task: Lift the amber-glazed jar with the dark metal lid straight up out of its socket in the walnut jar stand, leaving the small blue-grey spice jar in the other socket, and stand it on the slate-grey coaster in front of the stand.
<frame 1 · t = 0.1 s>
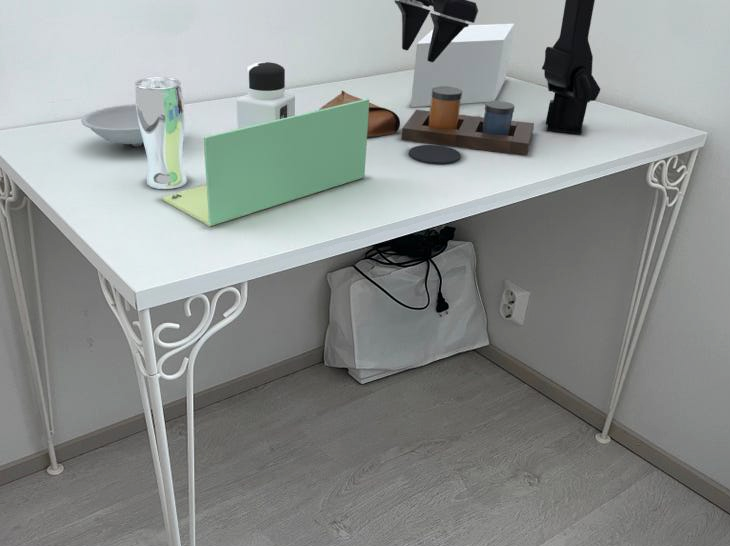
hand: (417, 55, 125), 15 cm above the table, tool pointing down, fingers open, 9 cm apart
spice jar: (494, 140, 138), resting in jar stand
block: (460, 93, 165), on the table
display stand: (267, 189, 115), on the table
coaster: (434, 155, 130), on the table
jar stand: (467, 137, 139), on the table
container: (266, 141, 134), on the table
beer glass: (167, 183, 116), on the table
sunglasses case: (354, 124, 144), on the table
amber jar: (441, 134, 140), resting in jar stand
dish: (137, 146, 130), on the table
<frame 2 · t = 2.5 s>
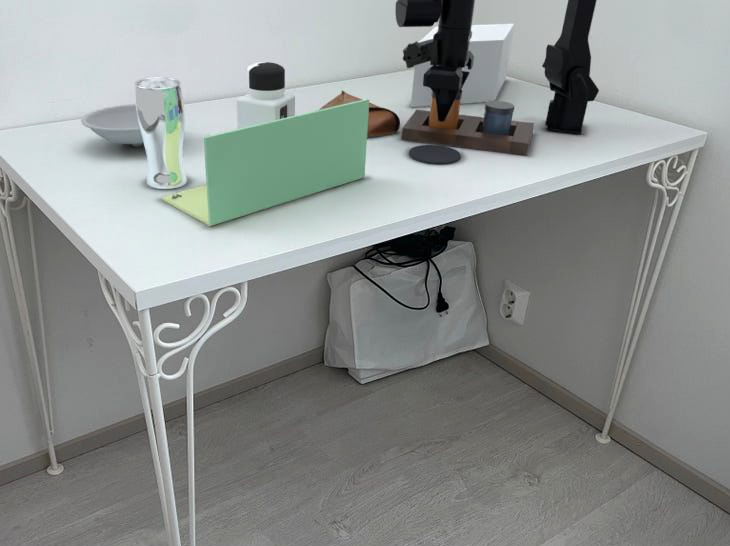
hand: (444, 116, 138), 3 cm above the table, tool pointing down, fingers closed on amber jar, 5 cm apart
amber jar: (441, 134, 140), resting in jar stand, touching gripper
everything else where it was.
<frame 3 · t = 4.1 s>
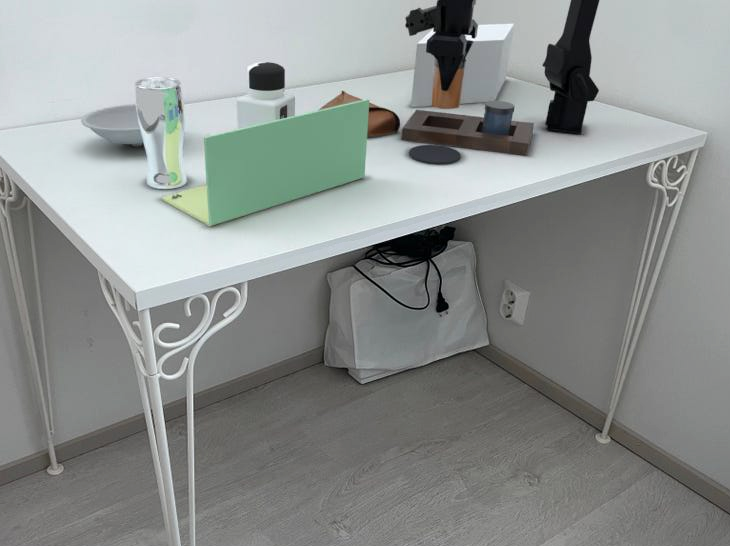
hand: (447, 86, 135), 9 cm above the table, tool pointing down, fingers closed on amber jar, 5 cm apart
amber jar: (444, 104, 137), point 5 cm above the table, touching gripper
everything else where it was.
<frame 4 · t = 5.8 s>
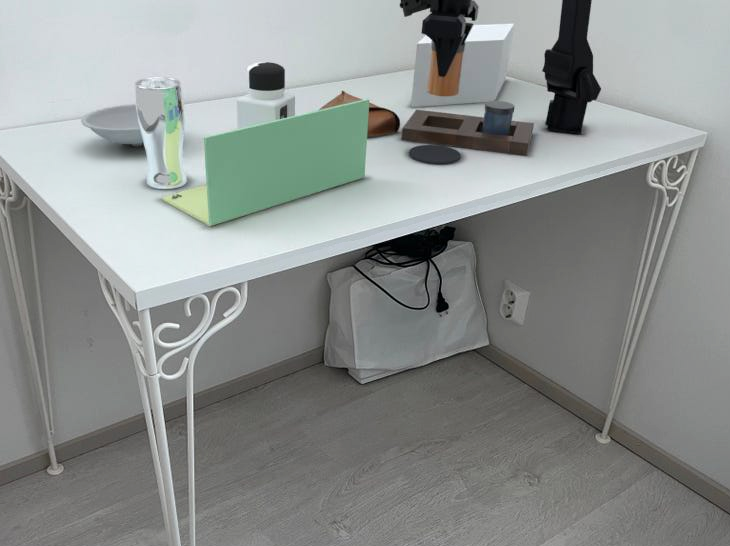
hand: (444, 72, 125), 13 cm above the table, tool pointing down, fingers closed on amber jar, 5 cm apart
amber jar: (442, 92, 127), point 10 cm above the table, touching gripper
everything else where it was.
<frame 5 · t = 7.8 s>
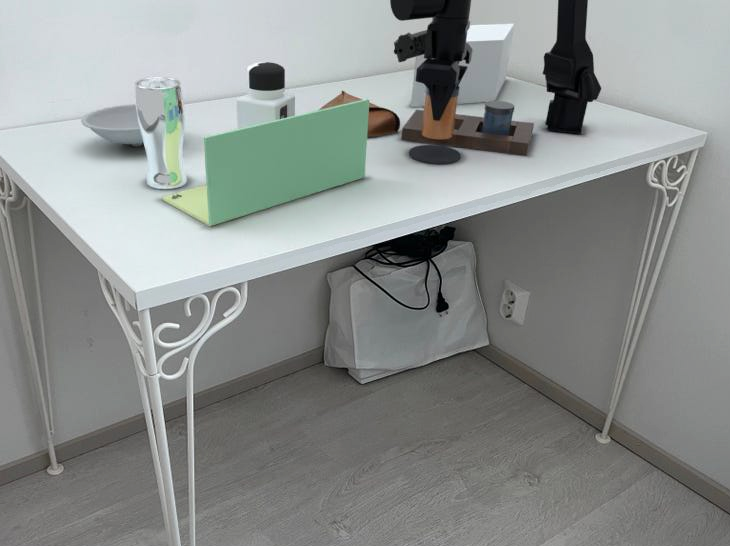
hand: (439, 115, 126), 7 cm above the table, tool pointing down, fingers closed on amber jar, 5 cm apart
amber jar: (437, 134, 128), point 4 cm above the table, touching gripper
everything else where it was.
when the fingers open (4 cm above the table, at t = 9.2 s): amber jar stays where it is, resting on coaster.
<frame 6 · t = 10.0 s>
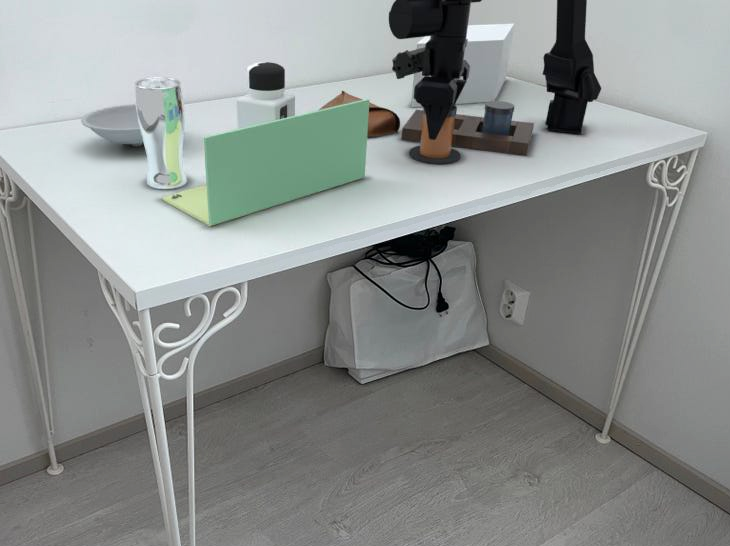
hand: (437, 131, 128), 4 cm above the table, tool pointing down, fingers open, 9 cm apart
amber jar: (434, 153, 130), resting on coaster
everything else where it was.
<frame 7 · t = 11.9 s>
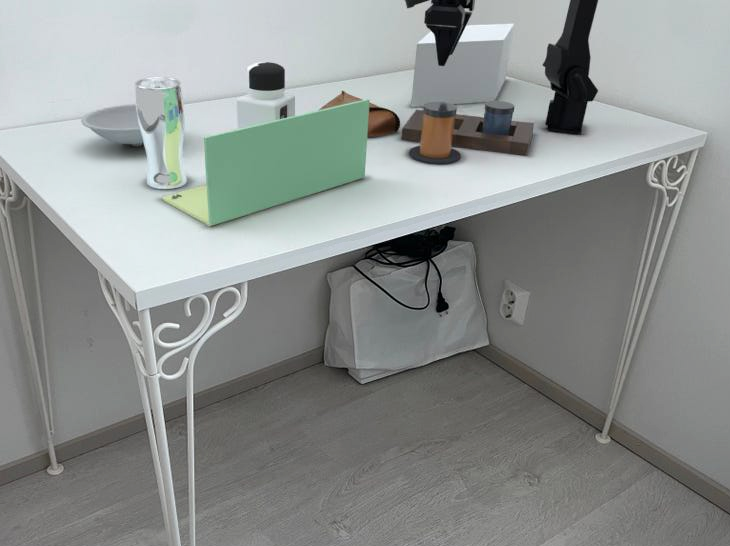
hand: (445, 60, 134), 13 cm above the table, tool pointing down, fingers open, 9 cm apart
nothing on the table moved.
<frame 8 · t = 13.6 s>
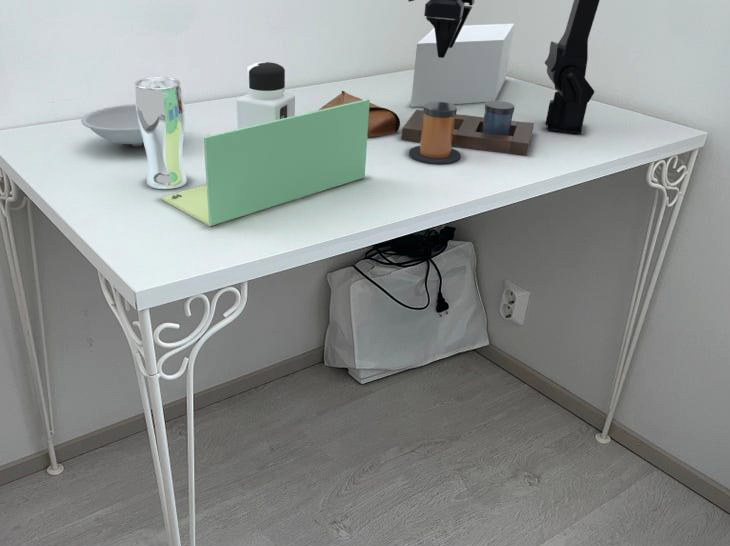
hand: (445, 52, 139), 13 cm above the table, tool pointing down, fingers open, 9 cm apart
nothing on the table moved.
at the end: amber jar 0.0 cm off-centre on the coaster, point 0.4 cm above the coaster's base; amber jar tilted 0°; spice jar moved 0.0 cm from its start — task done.
